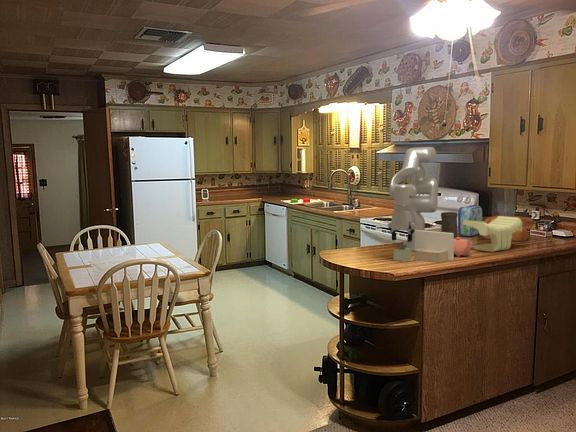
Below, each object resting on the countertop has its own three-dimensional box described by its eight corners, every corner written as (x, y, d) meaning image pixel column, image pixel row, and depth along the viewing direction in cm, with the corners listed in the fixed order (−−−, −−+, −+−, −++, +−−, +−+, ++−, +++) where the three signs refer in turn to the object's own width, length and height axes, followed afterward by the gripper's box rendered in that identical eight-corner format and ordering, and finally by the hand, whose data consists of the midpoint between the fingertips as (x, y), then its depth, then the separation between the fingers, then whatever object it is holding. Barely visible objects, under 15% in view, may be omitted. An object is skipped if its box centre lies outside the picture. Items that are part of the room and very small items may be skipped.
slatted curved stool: (486, 254, 264) (486, 222, 263) (463, 250, 278) (463, 219, 277) (521, 248, 278) (522, 218, 277) (498, 245, 292) (498, 216, 291)
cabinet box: (393, 260, 255) (393, 244, 254) (401, 258, 260) (401, 243, 259) (402, 262, 251) (402, 246, 250) (410, 260, 255) (410, 244, 255)
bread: (521, 242, 300) (521, 217, 299) (479, 239, 319) (479, 215, 318) (529, 239, 310) (529, 215, 309) (488, 236, 329) (488, 213, 327)
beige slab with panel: (404, 258, 260) (404, 232, 259) (416, 255, 268) (416, 230, 267) (441, 263, 244) (441, 235, 243) (453, 259, 252) (453, 233, 251)
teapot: (443, 257, 260) (443, 238, 259) (444, 253, 271) (444, 235, 270) (471, 258, 255) (471, 239, 254) (471, 254, 266) (471, 236, 265)
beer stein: (458, 245, 297) (458, 212, 296) (440, 244, 300) (440, 212, 300) (458, 242, 312) (458, 211, 311) (440, 242, 315) (440, 211, 314)
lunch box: (468, 232, 351) (468, 203, 349) (483, 233, 344) (484, 204, 342) (455, 236, 331) (455, 206, 328) (471, 238, 324) (471, 206, 322)
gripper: (383, 208, 256) (384, 240, 258) (411, 209, 244) (411, 243, 245) (392, 207, 261) (392, 239, 263) (420, 208, 249) (420, 241, 250)
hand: (401, 240), depth 254 cm, fingers open, 9 cm apart
